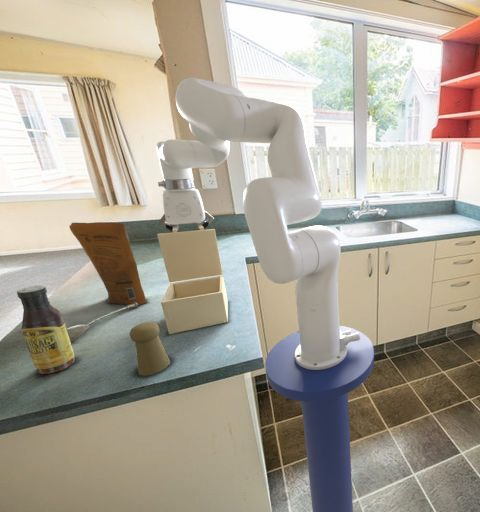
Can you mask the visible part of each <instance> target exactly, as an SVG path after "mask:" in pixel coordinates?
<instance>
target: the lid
mask: <svg viewBox="0 0 480 512" xmlns="http://www.w3.org/2000/svg"><path fill="white" fill-rule="evenodd" d="M156 236H157V239H158V243H159V247H160V251H161V254H162V259H163V264H164V267H165V271H166V275H167V278H168V282H169V283H176V282H183V281H189V280H196V279H203V278H210V277H217V276H224V275H223V273H224V272H223V268H222V262H221V256H220V250H219V245H218V239H217V235H216V229H215V228H210V229H204V230H199V229H197V230H185V231H180V232H164V233H163V232H162V233H157V234H156Z"/></svg>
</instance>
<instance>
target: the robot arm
mask: <svg viewBox="0 0 480 512" xmlns="http://www.w3.org/2000/svg"><path fill="white" fill-rule="evenodd" d="M175 104H176V108H177V110H178V112H179V114H180V115H181V116H182V118H183V119H184V120H185V121H186V122H188V126H189V129H190V132H191V133H192V135H193V136H194V138H195V139H196V140H195V139H167V140H165V141H164V140H163V141H158V142H157V143H156V146H155V147H156V153H157V157H158V161H159V167H160V170H161V175H162V181H158V182H157V186H158V187H159V188H161V187H162V188H164V189H165V190H162V205H163V212H164V213H163V215H162V216H161V218H160V219H159V221H158V222H157V224H158V225H159V226H162V227H163V228H166V229H167V230H168V231H170V232H171V233H173V232H181V231H180V225H184V224H196V226H197V227H198V230H206V228H207V227H208V226H209V225H210V224H212V223H213V221H214V220H215V217H214V216H213V215H211V213H209V212H208V211H207V210H205V207H204V203H203V199H202V197H201V193H200V191H199V189H197V188H196V186H195V185H196V184H195V179H194V175H193V170H192V169H212V168H217V167H218V166H220V165H221V164H223V163H224V162H225V161H226V160H227V159H228V158H229V155H230V151H231V144H230V142H231V143H233V142H234V143H252V144H269V145H268V150H267V163H268V167H269V169H270V173H271V176H266V177H259V178H256V179H252V180H251V181H250V182H249V183H248V184H247V185H246V186H245V187H244V190H243V195H242V209H243V213H244V217H245V221H246V224H247V227H248V231H249V234H250V237H251V240H252V244H253V246H254V250H255V254H256V256H257V259H258V263H259V265H260V267H261V270H262V272H263V274H264V275H265V276H266V278H267V279H268V280H269V281H271V282H273V283H274V284H280V285H282V284H288V283H291V282H293V281H296V282H295V289H294V291H295V292H294V293H295V305H296V314H297V323H298V331H299V335H300V345H299V346H298V347H297V348H296V350H295V360H296V362H297V364H299V365H300V366H301V367H303V368H306V369H310V370H322V369H327V368H330V367H333V366H335V365H337V364H339V363H340V362H341V361H342V360H343V359H344V358H345V357H346V355H347V345H348V343H349V342H354V341H358V340H359V339H360V337H359V334H358V333H354V334H351V331H350V330H348V331H345V332H340V326H341V324H340V322H341V321H340V305H339V304H340V303H339V302H340V301H339V269H340V261H341V252H342V248H341V241H340V239H339V237H338V234H337V233H336V232H335V231H334V230H333V229H331V228H329V227H327V226H324V225H312V226H311V225H310V226H307V227H302V228H297V229H294V230H291V231H289V229H288V226H289V225H293V224H294V225H295V224H299V223H303V222H306V221H310V220H312V219H314V218H317V217H318V216H319V215H320V214H321V212H322V208H323V207H322V206H323V202H322V197H321V191H320V189H319V185H318V181H317V177H316V174H315V170H314V166H313V162H312V159H311V155H310V151H309V145H308V137H307V135H308V134H307V129H306V125H305V122H304V119H303V117H302V115H301V113H300V112H299V111H298V110H297V109H296V108H295V107H294V106H291V105H289V104H286V103H282V102H277V101H271V100H265V99H261V98H254V97H248V96H247V94H245V93H244V92H243V91H242V90H241V89H239V88H237V87H235V86H234V85H229V84H226V83H222V82H217V81H213V80H207V79H203V78H199V77H198V78H197V77H187V78H185V79H183V80H181V82H180V83H179V84H178V86H177V88H176V90H175Z"/></svg>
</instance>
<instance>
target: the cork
mask: <svg viewBox="0 0 480 512" xmlns="http://www.w3.org/2000/svg"><path fill="white" fill-rule="evenodd" d="M159 334H160V327H159V325H158V324H157V323H156V322H154V321H146V322H141V323H138V324H136V325H134V326H133V327H132V328H131V329H130V331H129V338H130V340H131V341H132V342H134V343H135V351H136V353H135V355H136V362H137V364H136V365H137V371H138V374H139V376H144V377H145V376H152V375H156V374H158V373H160V372H162V371H164V370H165V369H167V368H168V367H169V366H170V364H171V360H170V358H169V355H168V353H167V351H166V349H165V347H164V345H163V343H162V340H161V338H160V337H159Z"/></svg>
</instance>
